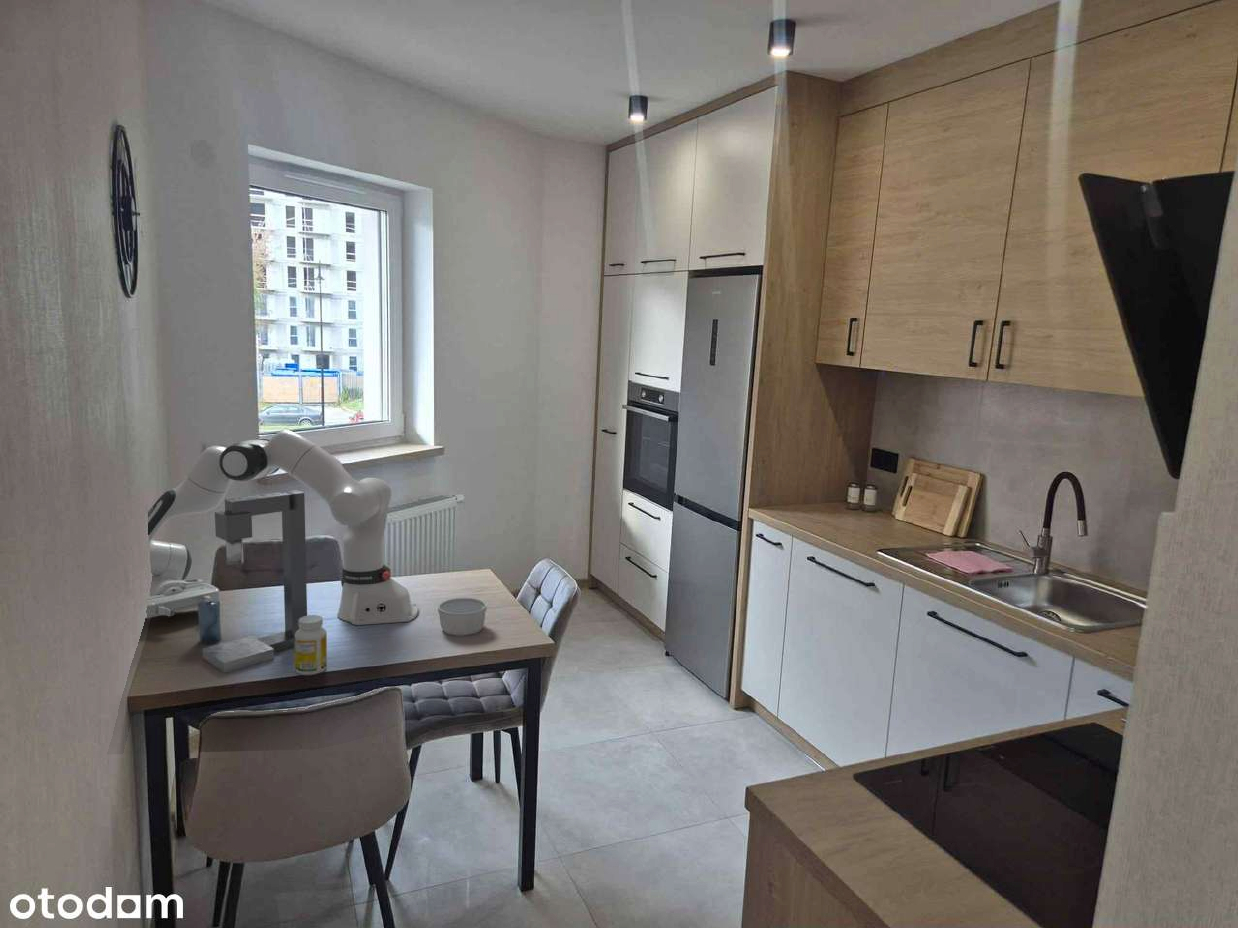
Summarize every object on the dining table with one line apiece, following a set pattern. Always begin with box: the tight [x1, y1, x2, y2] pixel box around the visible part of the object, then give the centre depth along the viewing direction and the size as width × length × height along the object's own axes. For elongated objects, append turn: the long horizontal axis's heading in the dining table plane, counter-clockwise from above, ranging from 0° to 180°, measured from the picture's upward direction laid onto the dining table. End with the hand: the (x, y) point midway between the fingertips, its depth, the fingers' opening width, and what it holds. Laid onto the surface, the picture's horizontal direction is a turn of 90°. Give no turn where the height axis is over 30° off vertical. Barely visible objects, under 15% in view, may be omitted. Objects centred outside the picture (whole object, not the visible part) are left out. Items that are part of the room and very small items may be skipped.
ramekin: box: [437, 597, 487, 637], centre depth 218 cm, size 13×13×7 cm
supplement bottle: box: [294, 614, 328, 676], centre depth 188 cm, size 7×7×13 cm
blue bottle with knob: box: [197, 597, 222, 645], centre depth 202 cm, size 5×5×12 cm
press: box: [202, 489, 308, 674], centre depth 194 cm, size 23×12×40 cm, turn 140°
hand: (190, 608), depth 210 cm, fingers open, 8 cm apart
